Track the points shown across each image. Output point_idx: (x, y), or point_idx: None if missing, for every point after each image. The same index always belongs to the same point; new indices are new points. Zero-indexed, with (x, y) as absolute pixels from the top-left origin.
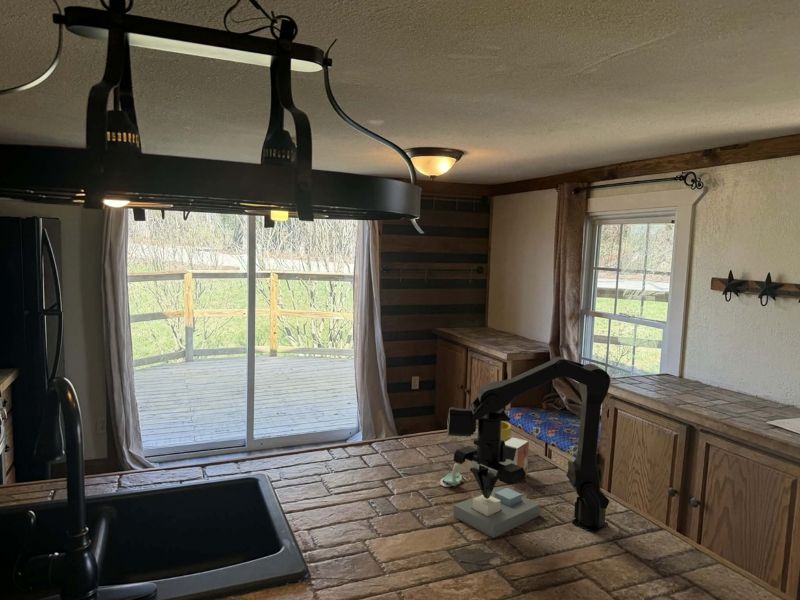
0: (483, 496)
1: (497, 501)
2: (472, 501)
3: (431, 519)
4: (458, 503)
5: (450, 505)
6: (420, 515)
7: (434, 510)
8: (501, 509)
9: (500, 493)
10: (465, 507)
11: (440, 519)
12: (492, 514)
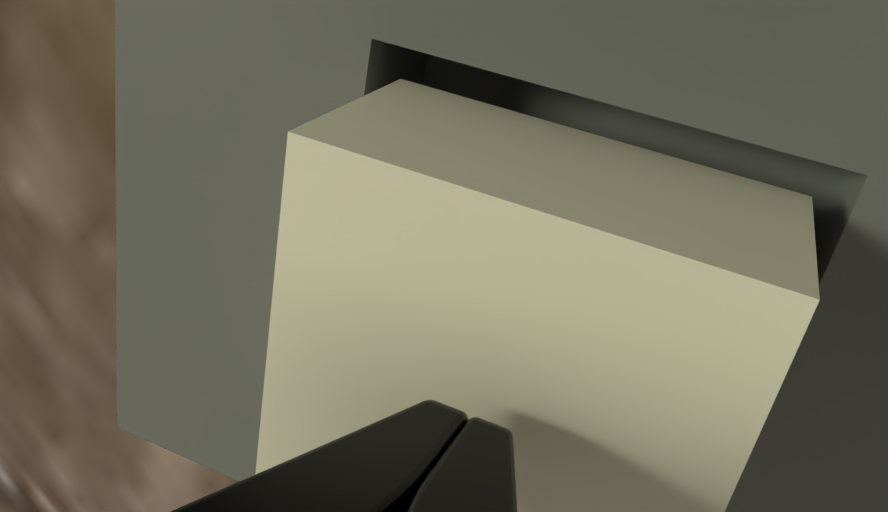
0: (337, 315)
1: (761, 405)
2: (205, 173)
3: (126, 498)
4: (120, 351)
5: (24, 104)
6: (22, 472)
7: (18, 321)
8: (830, 154)
9: None
10: (257, 419)
11: (176, 462)
12: (629, 110)
